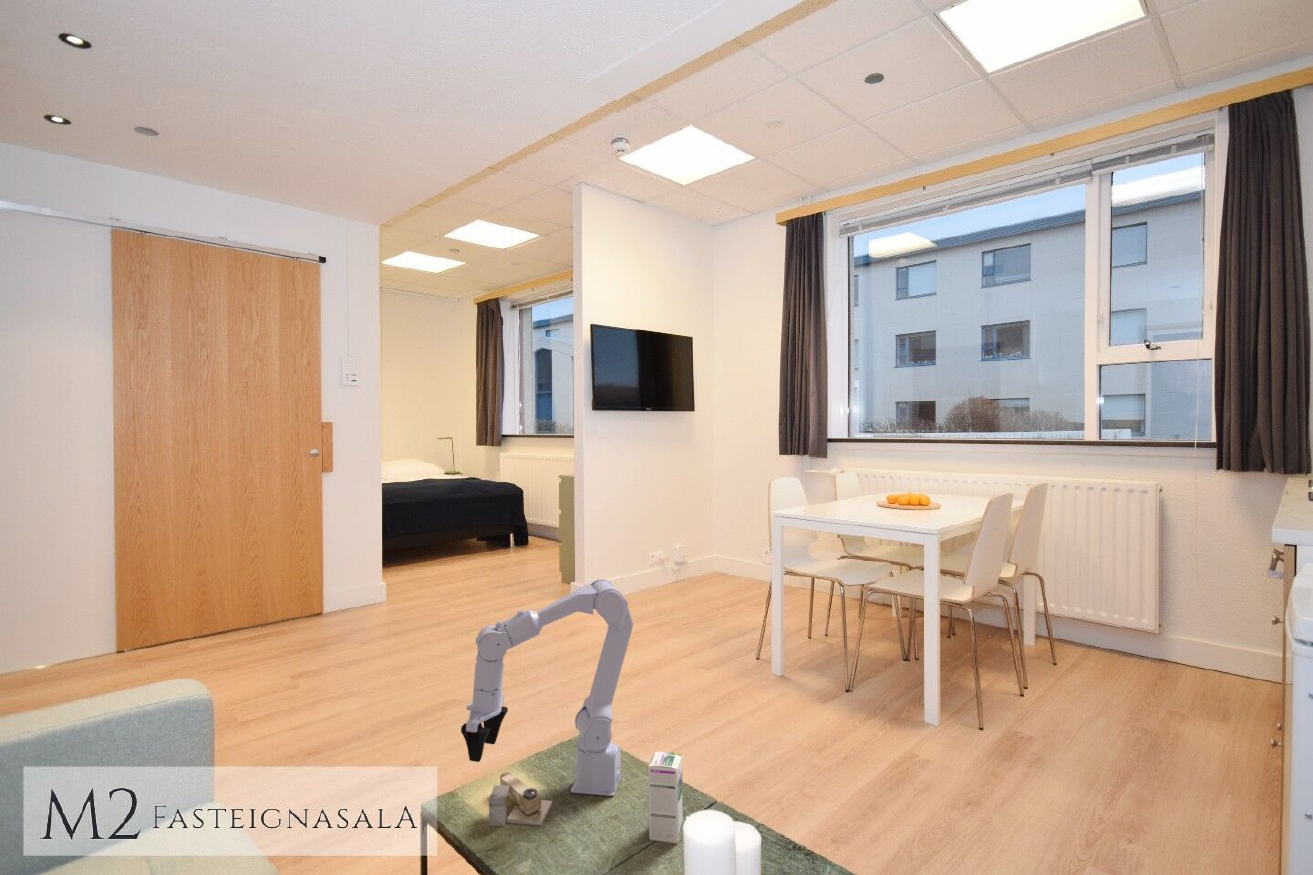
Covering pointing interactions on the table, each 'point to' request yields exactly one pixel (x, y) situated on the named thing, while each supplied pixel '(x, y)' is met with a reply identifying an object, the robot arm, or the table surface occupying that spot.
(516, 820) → the pintle base
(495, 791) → the block
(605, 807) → the table surface
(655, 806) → the syrup box
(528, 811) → the link
